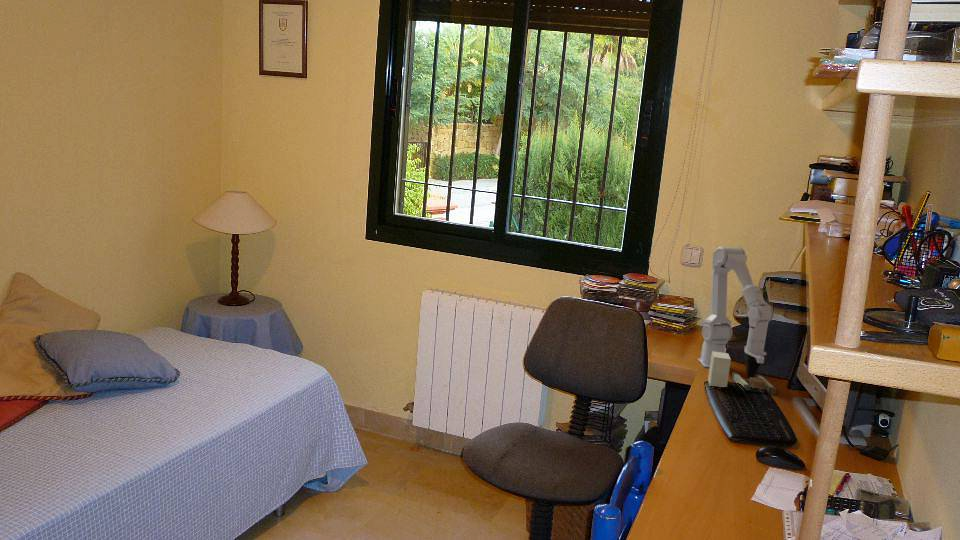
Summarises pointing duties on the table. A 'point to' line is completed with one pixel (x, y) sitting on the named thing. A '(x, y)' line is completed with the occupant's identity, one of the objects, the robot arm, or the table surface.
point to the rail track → (743, 382)
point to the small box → (719, 369)
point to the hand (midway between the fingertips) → (750, 377)
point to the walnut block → (757, 383)
